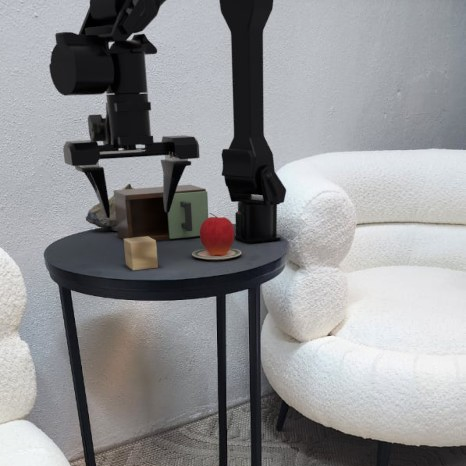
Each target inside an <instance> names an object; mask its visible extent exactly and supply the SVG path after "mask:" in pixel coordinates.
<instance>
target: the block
mask: <svg viewBox="0 0 466 466" xmlns="http://www.w3.org/2000/svg"><path fill="white" fill-rule="evenodd" d="M123 248H124V258H125V259H124V260H125V266H126V267H128V268H129V269H131V270H132V271H141V270H149V269H157V268H159V262H158V261H159V260H158V250H157V249H158V248H157V241H156V240H154V239H152V238H150V237H148V236H146V237H136V238H126V239H124V240H123Z"/></svg>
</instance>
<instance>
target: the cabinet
mask: <svg viewBox="0 0 466 466" xmlns="http://www.w3.org/2000/svg"><path fill="white" fill-rule="evenodd" d="M202 191H207V190H206V188H204V187H200V186H196V185H193V184H181V185H179V184H178V186H177V189H176V192H175V194H176V193H189V192H202ZM112 192H113V195H114V201H115V211H116V220H117V230H118V231H117V237H119V238H120V239H121V240H123V241H124V239H126V238H136V237H146V236H148V237H150V238H152V239H154V240H156V242H158V241H159V242H161V241H168V240H171V241H172V239H170V238H169V226H168V213H166V212H165V210H164V201H163V186H152V187H140V188H134V189H125V190H122V189H113V191H112ZM190 238H191V237H184V238H183V239H190ZM193 238H200V236H194V237H193ZM180 239H181V238H174V239H173V240H180Z"/></svg>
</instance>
